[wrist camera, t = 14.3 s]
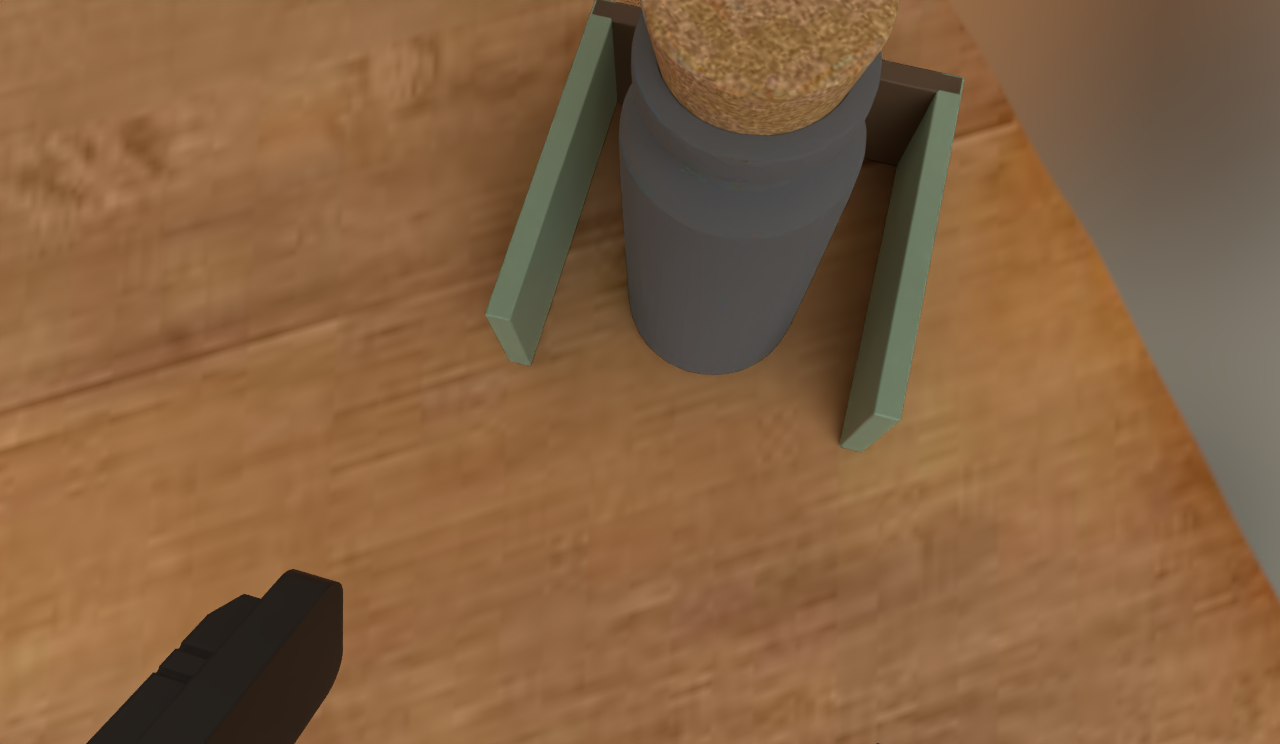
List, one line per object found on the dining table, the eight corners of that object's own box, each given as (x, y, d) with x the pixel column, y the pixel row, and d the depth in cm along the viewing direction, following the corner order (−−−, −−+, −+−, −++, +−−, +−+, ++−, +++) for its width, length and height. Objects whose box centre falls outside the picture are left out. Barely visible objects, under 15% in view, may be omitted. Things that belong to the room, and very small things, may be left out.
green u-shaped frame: (921, 153, 31) (965, 76, 27) (862, 453, 28) (900, 421, 23) (603, 81, 32) (595, -4, 28) (508, 361, 29) (483, 314, 24)
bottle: (817, 350, 29) (985, 72, 14) (656, 397, 28) (662, 160, 14) (762, 205, 30) (862, -173, 16) (609, 248, 30) (570, -101, 16)
